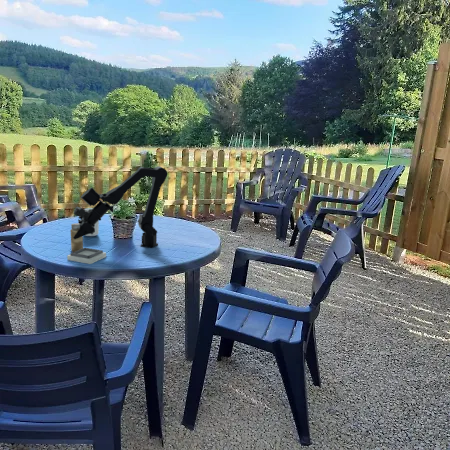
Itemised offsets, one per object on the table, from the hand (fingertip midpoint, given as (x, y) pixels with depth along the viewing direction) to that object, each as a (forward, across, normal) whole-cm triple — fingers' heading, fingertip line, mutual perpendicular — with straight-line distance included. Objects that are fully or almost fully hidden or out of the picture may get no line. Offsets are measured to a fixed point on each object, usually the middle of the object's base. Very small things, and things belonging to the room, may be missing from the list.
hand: (73, 236), depth 195 cm
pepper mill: (+4, 0, +6) cm, 7 cm away
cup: (-2, -24, +12) cm, 26 cm away
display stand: (+2, +13, +8) cm, 15 cm away
